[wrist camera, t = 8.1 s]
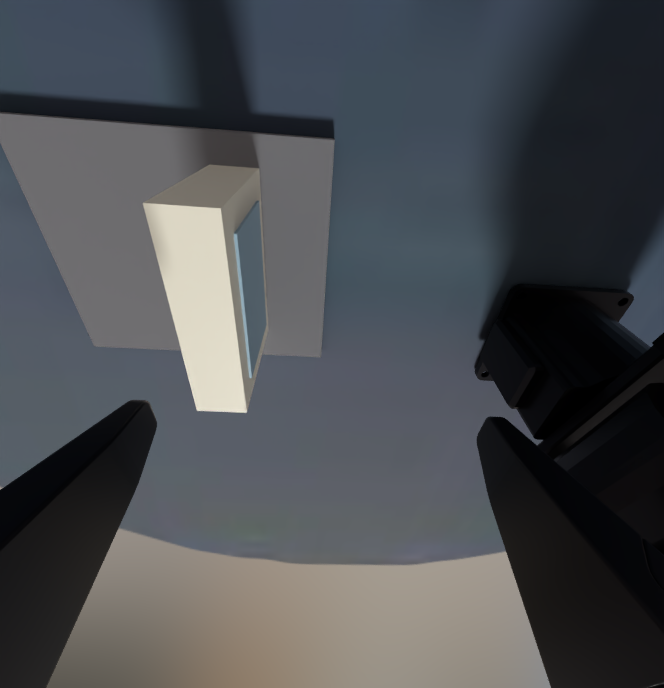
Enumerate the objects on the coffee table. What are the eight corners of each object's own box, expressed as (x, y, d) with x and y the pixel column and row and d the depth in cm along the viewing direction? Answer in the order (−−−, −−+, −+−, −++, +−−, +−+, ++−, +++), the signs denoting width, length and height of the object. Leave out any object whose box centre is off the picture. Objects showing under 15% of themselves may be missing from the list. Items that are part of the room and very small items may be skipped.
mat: (334, 138, 13) (334, 140, 13) (321, 350, 20) (321, 357, 19) (-1, 111, 13) (-14, 112, 12) (100, 340, 19) (94, 346, 19)
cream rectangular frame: (270, 329, 18) (249, 412, 13) (231, 327, 18) (197, 410, 13) (261, 168, 13) (224, 208, 9) (209, 164, 13) (142, 203, 9)
